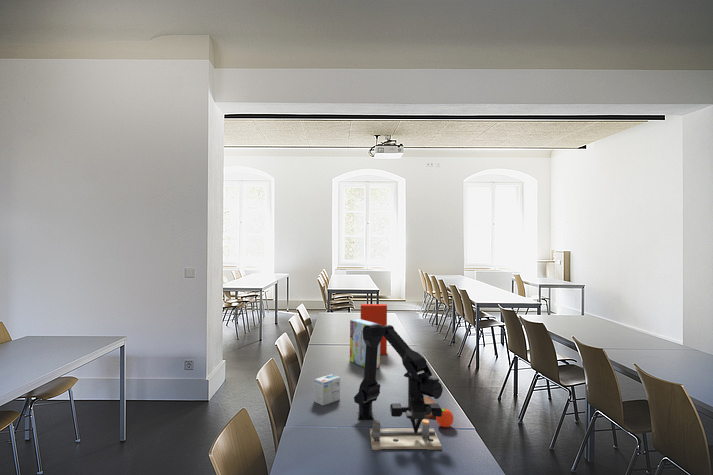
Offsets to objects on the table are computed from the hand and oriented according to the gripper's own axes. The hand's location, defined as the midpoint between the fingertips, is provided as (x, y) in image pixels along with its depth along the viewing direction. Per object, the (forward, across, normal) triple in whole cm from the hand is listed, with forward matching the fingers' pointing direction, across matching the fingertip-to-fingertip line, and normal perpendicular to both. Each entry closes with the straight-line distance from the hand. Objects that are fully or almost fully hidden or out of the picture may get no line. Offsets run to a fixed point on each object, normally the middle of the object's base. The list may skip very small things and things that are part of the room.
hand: (415, 432), depth 153 cm
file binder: (+3, -8, +120) cm, 120 cm away
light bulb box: (+3, -35, +39) cm, 52 cm away
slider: (+2, +4, 0) cm, 4 cm away
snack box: (+3, -15, +95) cm, 96 cm away
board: (+3, -4, +1) cm, 5 cm away
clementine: (+3, +13, +12) cm, 18 cm away
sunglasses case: (+4, +10, +28) cm, 30 cm away
